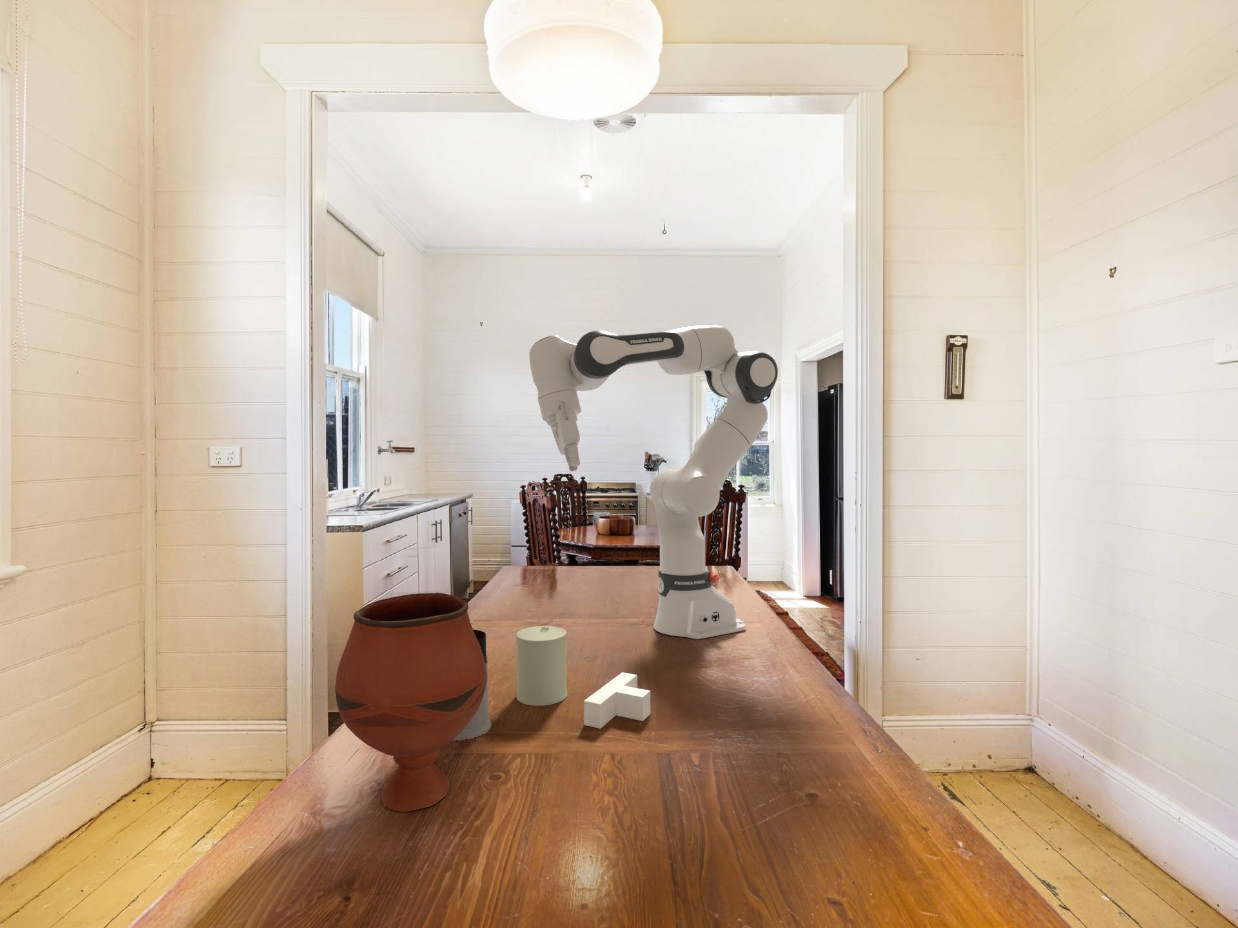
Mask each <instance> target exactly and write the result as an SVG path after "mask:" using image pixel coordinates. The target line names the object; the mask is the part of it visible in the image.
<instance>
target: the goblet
mask: <svg viewBox="0 0 1238 928" xmlns="http://www.w3.org/2000/svg"><path fill="white" fill-rule="evenodd" d="M468 610H469V603H468V602H467V601H465V600H464V599H463V598H461V597H459V596H457V595H452V594H450V593H449V594H447V593H444V592H430V593H429V592H426V593H425V592H424V593H421V592H419V593H410V594H409V593H408V594H403V595H399V596H398V595H397V596H391V597H387V598H383V599H379V600H376V601H373V602H369V604H366V605H365V606H363V607H361V608H360V609H358V610H357V611H355V612H354V614H353V620H354V621H353V624H352V627H351V630H350V633H349V636H348V638H347V641H346V645H345V647H344V649H343V652H342V655H341V657H340V660H339V664H338V667H337V672H336V677H335V683H334V692H335V700H336V706H337V710H338V713H339V715H340V717H341V720H342V722H343V723H344V725H345V726H346V728H347V729H348V730H349V731H350V732H351V733H352V734H354V736H355V737H357V739H359V740H360V741H362V742H363V743H364V744H365V745H367V746H368V747H370V748H372V749H373V750H376V751H378V752H380V753H382V754H385V755H387V756H390V757H391V756H392V757H393V758H392V759H393V761H394V763H395V764H396V765H398V766H397V769H395V772H394V773H393V774H392V775H391V777H390V778H388V780H387V782H386V783H385V784H384V786H383V789H382V792H381V795H380V796H381V797H380V798H381V801H382V803H383V807H386V808H387V809H389V810H391V811H394V812H402V813H403V812H405V813H406V812H411V811H417V810H422V809H425V808H429V807H433V806H434V805H436V804H437V803H439V802H440V801H442V800H443V799H444V798H445V797H447V794H448V792H449V790H450V785H451V784H450V781H449V779H448V777H447V776H446V774H445V773H444V772H443V771H442V770H441V769H440V767H438V766H437V765H436V764H435V761H436V760H437V759H438V758H439V757H440V755H441V748H443V747H445V746H446V745H447V744H449V743H450V742H451V741H453V739H454V738H455V737H456V736H457V735H458V734H459V733H460V732H461V731H462V730H463V729H464V728H465V727H466V726H467V724H468V723H469V722H470V720H471V719H472V718H473V716H474V715H475V713H476V712H477V710H478V709H479V706H480V704H481V702H482V699H483V696H484V692H485V688H486V682H487V668H486V664H485V660H484V656H483V653H482V650H481V648H480V645H479V642H478V640H477V638H476V636H475V634H474V631H473V629H474V628H473V626H472V623H471V620H470V615H469V613H468ZM443 797H444V798H443ZM441 799H442V800H441Z"/></svg>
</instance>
